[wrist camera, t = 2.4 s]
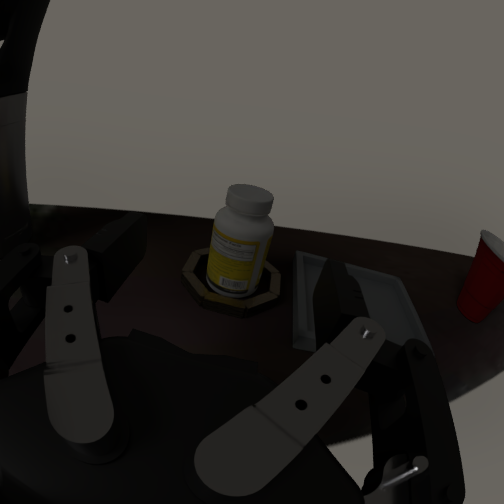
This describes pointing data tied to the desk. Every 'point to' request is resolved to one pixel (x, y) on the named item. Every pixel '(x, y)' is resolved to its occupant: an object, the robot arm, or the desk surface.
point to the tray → (375, 295)
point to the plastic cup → (483, 279)
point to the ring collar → (224, 302)
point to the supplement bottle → (240, 241)
